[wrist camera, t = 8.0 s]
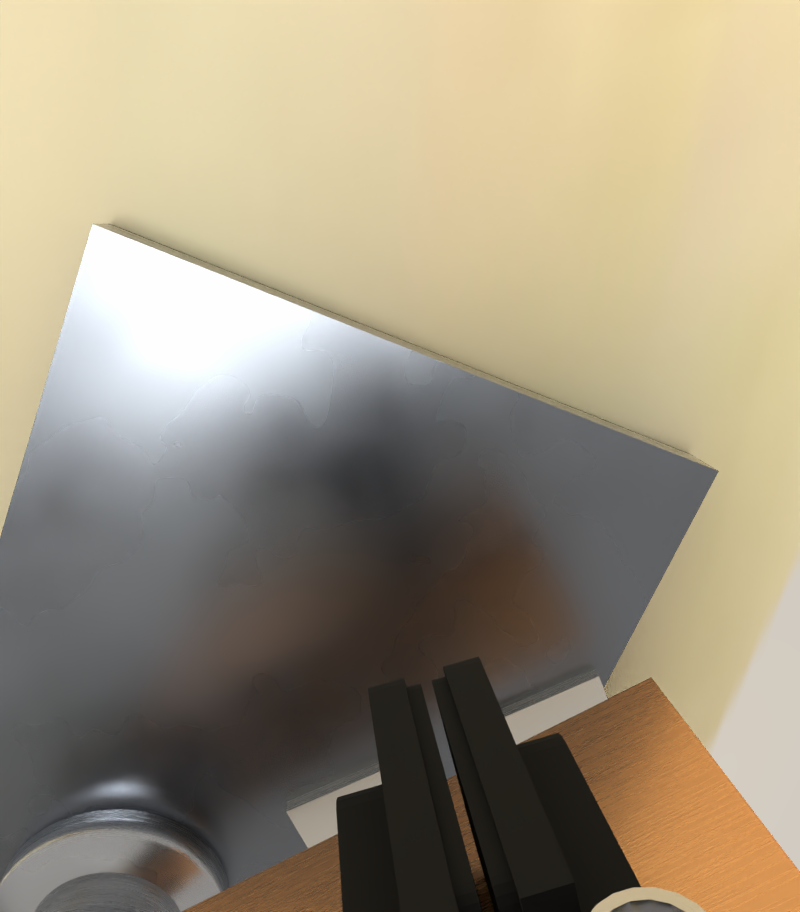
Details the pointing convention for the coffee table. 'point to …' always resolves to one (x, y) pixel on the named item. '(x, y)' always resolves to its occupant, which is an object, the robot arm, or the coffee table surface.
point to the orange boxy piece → (626, 810)
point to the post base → (281, 573)
